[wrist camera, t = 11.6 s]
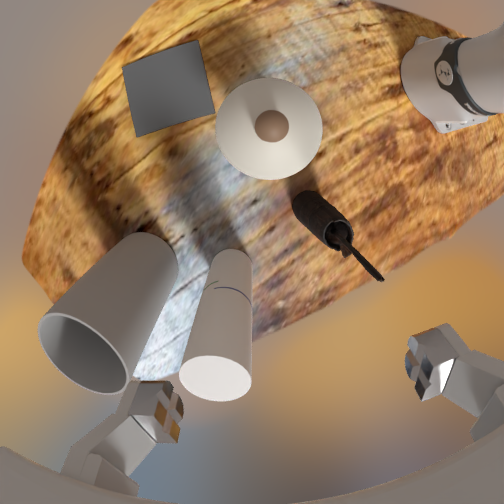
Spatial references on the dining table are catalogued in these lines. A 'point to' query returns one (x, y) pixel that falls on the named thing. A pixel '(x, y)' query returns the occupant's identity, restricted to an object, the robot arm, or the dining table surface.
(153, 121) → the mat
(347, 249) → the butter churn
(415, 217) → the dining table surface
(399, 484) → the robot arm
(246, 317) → the cylindrical container
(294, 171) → the lid
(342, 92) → the dining table surface
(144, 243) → the cylinder vase
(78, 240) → the dining table surface
